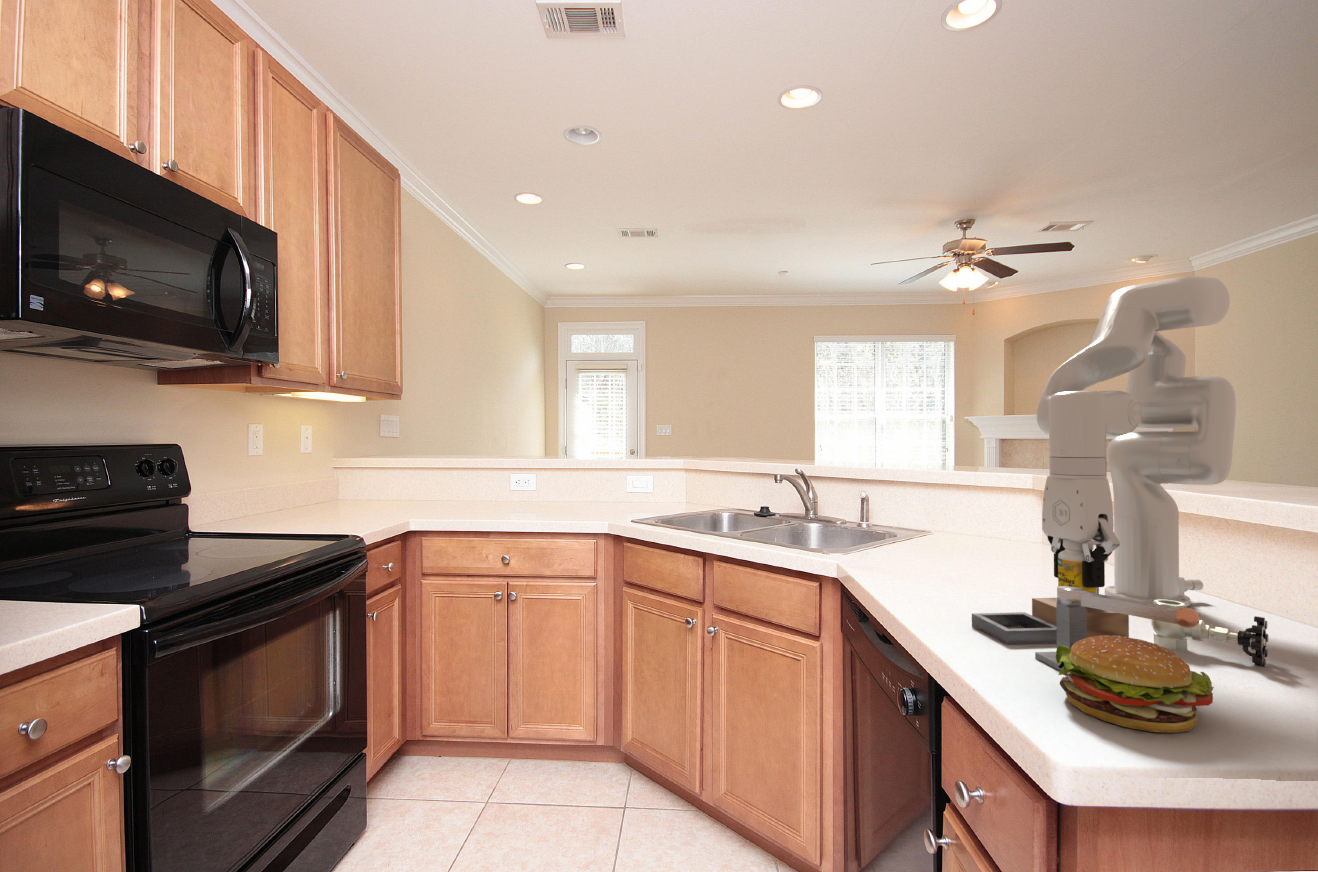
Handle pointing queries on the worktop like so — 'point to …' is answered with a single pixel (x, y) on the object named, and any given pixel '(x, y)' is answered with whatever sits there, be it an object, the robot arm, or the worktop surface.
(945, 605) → the worktop surface
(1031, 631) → the shallow grey tray
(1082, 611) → the grey upright pillar
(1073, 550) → the supplement bottle
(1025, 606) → the worktop surface
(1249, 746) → the worktop surface
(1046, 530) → the robot arm
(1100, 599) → the handle
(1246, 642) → the valve
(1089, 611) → the walnut block
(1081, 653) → the food
